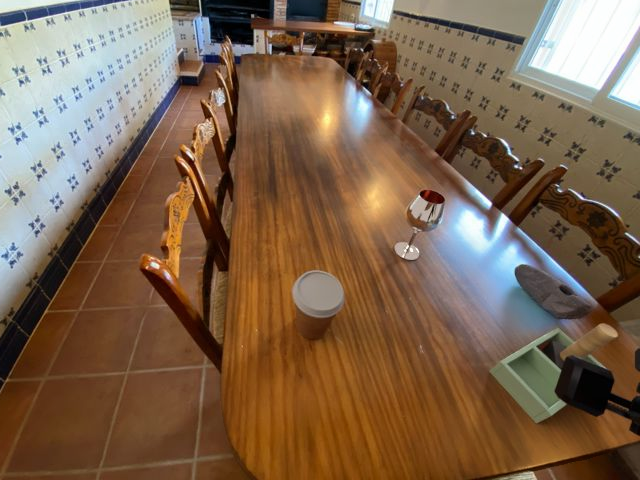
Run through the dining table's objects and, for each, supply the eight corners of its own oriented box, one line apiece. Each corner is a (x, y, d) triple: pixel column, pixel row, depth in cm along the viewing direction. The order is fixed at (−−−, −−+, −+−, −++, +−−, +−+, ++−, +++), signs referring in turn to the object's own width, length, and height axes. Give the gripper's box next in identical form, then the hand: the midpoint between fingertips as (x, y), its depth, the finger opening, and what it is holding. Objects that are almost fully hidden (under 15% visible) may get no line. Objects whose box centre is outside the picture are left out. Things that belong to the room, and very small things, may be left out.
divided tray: (593, 380, 55) (610, 371, 53) (536, 423, 49) (552, 415, 47) (544, 337, 62) (557, 327, 59) (488, 371, 55) (500, 361, 53)
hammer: (572, 384, 54) (630, 350, 45) (546, 373, 55) (598, 338, 47) (566, 357, 58) (618, 322, 49) (542, 347, 59) (589, 311, 51)
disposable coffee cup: (286, 305, 63) (290, 269, 56) (329, 303, 64) (339, 267, 57) (290, 349, 56) (295, 314, 48) (339, 346, 57) (352, 311, 50)
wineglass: (428, 260, 76) (459, 205, 65) (401, 265, 74) (427, 209, 63) (411, 238, 82) (436, 184, 71) (385, 242, 80) (406, 188, 69)
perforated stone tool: (502, 276, 74) (518, 257, 69) (518, 272, 75) (534, 253, 71) (560, 330, 63) (583, 312, 58) (577, 324, 64) (601, 306, 60)
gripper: (874, 422, 28) (700, 367, 43) (626, 331, 34) (549, 311, 48) (841, 538, 27) (676, 442, 42) (595, 426, 33) (526, 376, 48)
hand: (603, 387), depth 45 cm, fingers open, 9 cm apart
